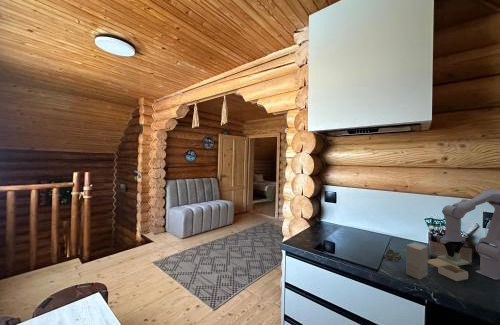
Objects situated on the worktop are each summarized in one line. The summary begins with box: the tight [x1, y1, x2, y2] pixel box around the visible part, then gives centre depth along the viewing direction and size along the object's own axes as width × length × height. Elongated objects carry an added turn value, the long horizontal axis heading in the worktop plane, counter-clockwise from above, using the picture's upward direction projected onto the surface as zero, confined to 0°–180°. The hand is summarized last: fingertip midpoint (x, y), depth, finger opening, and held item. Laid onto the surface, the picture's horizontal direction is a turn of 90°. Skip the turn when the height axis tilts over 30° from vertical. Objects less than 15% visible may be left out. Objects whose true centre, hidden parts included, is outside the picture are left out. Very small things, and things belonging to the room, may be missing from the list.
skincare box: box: [405, 241, 429, 280], centre depth 108 cm, size 8×7×16 cm
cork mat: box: [428, 257, 461, 269], centre depth 119 cm, size 11×11×1 cm
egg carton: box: [383, 247, 402, 262], centre depth 128 cm, size 11×8×4 cm
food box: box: [437, 264, 469, 282], centre depth 108 cm, size 8×8×4 cm
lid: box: [436, 250, 470, 267], centre depth 107 cm, size 9×9×5 cm
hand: (452, 255), depth 107 cm, fingers closed on lid, 2 cm apart
